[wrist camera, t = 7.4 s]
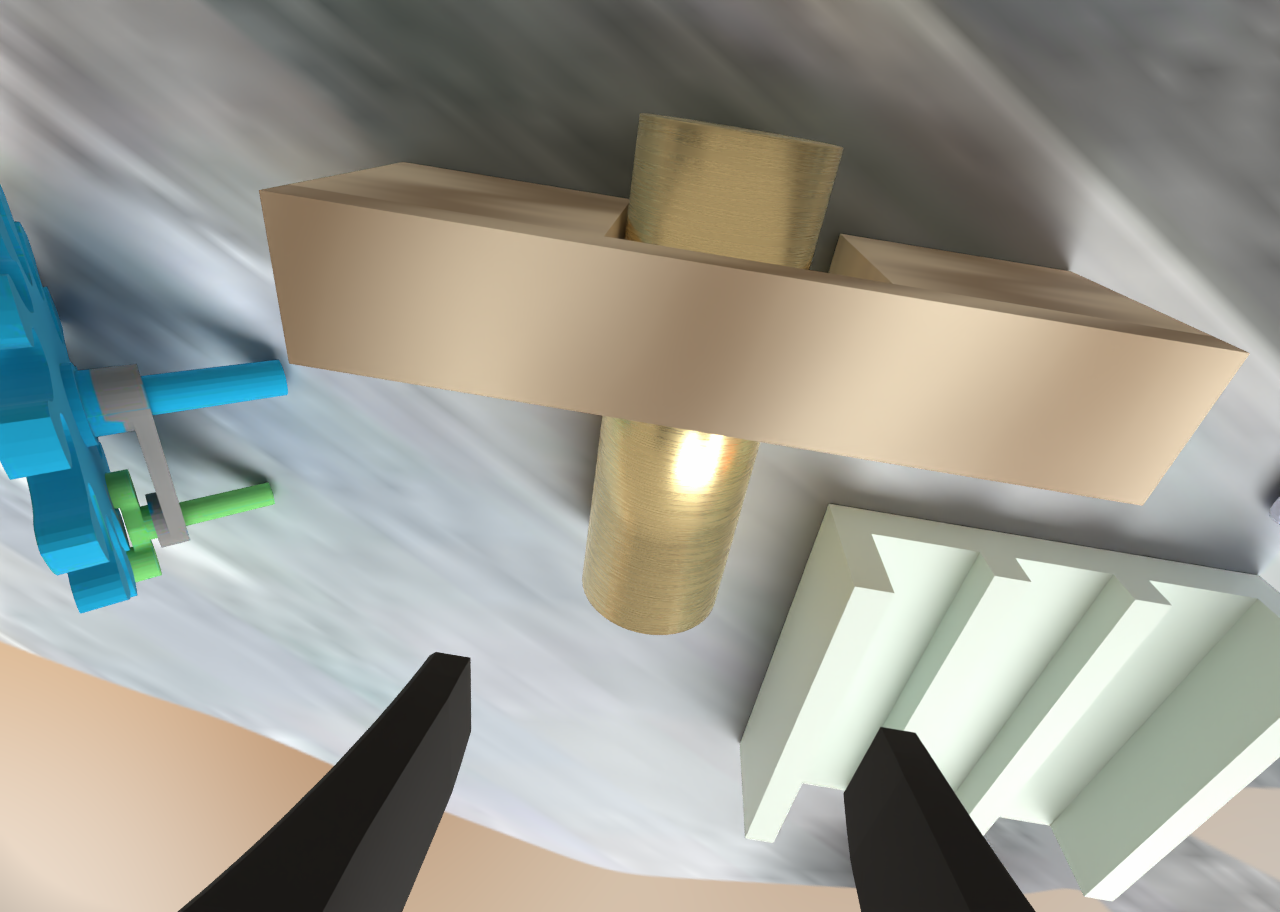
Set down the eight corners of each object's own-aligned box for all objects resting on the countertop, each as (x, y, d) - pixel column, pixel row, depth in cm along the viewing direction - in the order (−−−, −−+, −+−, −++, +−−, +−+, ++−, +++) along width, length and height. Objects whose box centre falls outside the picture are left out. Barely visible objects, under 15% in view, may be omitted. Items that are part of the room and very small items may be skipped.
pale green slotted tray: (1259, 575, 18) (1375, 674, 15) (1059, 799, 24) (1112, 901, 21) (828, 503, 18) (855, 586, 15) (739, 744, 24) (745, 838, 21)
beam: (1070, 271, 14) (1250, 353, 10) (1012, 386, 16) (1142, 505, 11) (403, 161, 14) (259, 189, 10) (410, 287, 16) (288, 362, 11)
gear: (-113, 100, 13) (-145, 353, 8) (212, 127, 17) (330, 315, 12) (58, 467, 20) (97, 727, 15) (262, 430, 24) (348, 631, 18)
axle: (669, 114, 14) (610, 110, 10) (844, 145, 13) (842, 150, 10) (609, 526, 20) (560, 606, 17) (726, 562, 19) (699, 654, 16)
